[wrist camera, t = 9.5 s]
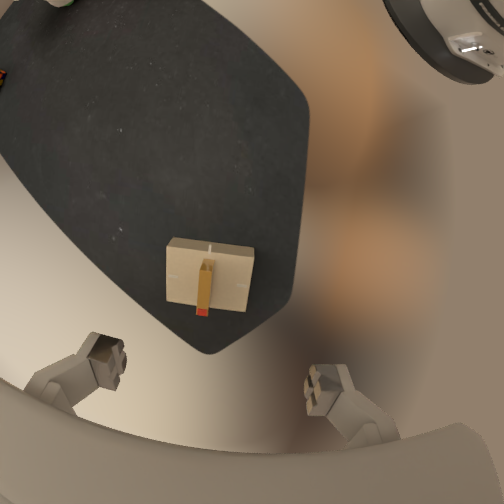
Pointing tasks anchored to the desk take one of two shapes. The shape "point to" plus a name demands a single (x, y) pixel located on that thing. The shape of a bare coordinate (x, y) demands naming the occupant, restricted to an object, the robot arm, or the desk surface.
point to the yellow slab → (205, 286)
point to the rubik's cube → (2, 76)
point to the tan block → (224, 279)
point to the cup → (59, 2)
